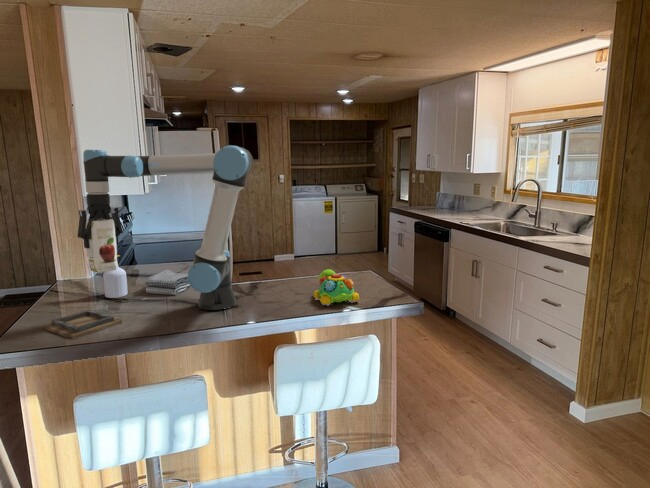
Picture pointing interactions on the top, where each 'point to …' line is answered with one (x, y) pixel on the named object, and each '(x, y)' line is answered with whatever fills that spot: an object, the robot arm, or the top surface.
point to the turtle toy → (335, 288)
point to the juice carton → (103, 246)
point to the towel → (167, 283)
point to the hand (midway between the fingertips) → (102, 254)
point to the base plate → (82, 324)
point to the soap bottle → (115, 283)
